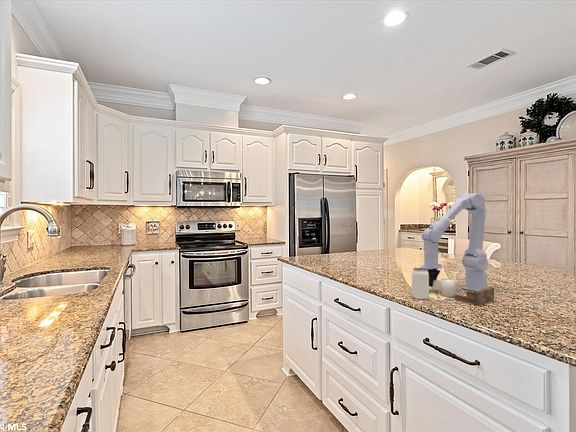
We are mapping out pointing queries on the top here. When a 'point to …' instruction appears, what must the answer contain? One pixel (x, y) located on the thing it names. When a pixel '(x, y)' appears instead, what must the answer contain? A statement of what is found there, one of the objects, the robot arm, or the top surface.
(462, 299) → the holder
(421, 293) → the can
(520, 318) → the top surface
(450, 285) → the jug
